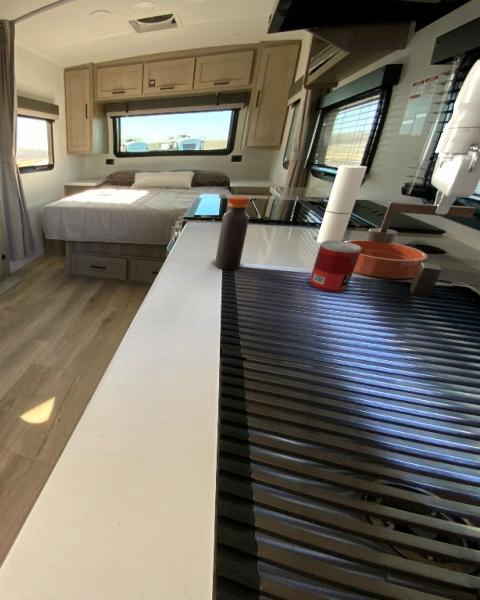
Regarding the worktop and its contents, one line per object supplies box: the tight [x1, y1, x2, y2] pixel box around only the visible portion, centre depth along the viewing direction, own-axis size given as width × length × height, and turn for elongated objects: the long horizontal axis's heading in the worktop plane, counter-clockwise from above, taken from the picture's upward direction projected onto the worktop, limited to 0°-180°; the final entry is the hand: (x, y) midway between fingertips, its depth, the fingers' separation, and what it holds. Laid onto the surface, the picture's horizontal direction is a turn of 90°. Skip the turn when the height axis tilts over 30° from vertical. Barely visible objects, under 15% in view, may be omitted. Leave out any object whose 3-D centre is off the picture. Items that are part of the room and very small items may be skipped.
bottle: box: [214, 196, 250, 271], centre depth 95 cm, size 7×7×20 cm
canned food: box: [309, 240, 361, 293], centre depth 82 cm, size 8×8×11 cm
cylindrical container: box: [316, 165, 368, 244], centre depth 111 cm, size 7×7×25 cm
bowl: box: [344, 239, 428, 280], centre depth 94 cm, size 19×19×6 cm
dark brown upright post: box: [409, 262, 442, 298], centre depth 78 cm, size 3×4×7 cm
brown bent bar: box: [365, 201, 477, 243], centre depth 76 cm, size 16×5×9 cm, turn 53°
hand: (439, 212), depth 73 cm, fingers closed on brown bent bar
